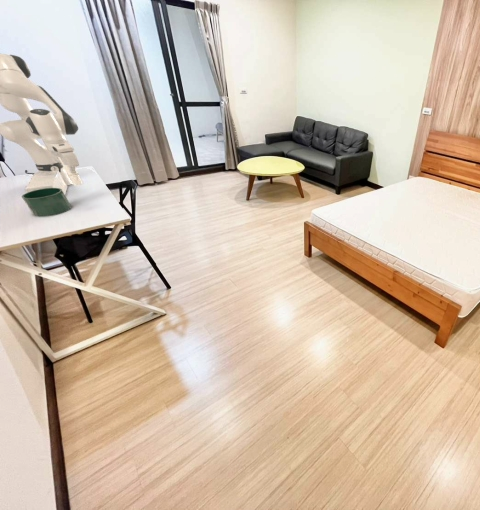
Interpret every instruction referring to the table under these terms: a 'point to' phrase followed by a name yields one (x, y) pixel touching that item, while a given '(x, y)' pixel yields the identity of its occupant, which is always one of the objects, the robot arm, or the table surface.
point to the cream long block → (46, 181)
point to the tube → (72, 175)
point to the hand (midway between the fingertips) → (71, 172)
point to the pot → (47, 201)
